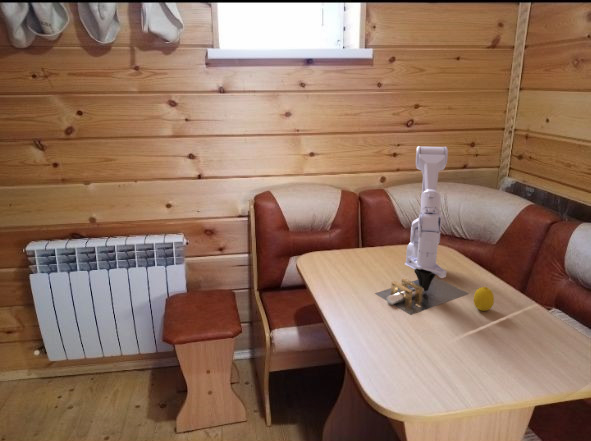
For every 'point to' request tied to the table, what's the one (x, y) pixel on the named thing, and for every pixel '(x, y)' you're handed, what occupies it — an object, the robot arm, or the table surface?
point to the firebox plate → (432, 297)
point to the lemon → (483, 298)
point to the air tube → (400, 296)
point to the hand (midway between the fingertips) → (424, 290)
